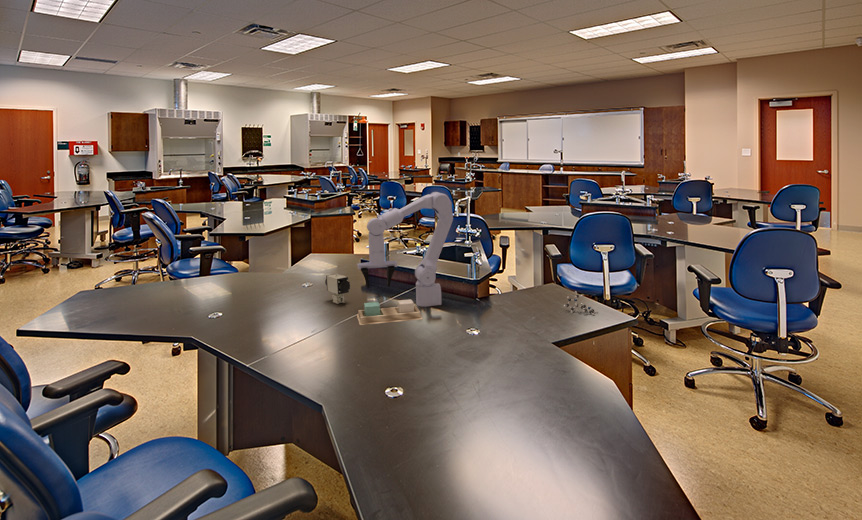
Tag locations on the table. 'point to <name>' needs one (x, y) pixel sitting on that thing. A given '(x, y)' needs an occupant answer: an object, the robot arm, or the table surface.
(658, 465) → the table surface
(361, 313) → the assembly board
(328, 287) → the pneumatic valve
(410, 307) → the cream block
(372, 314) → the teal block
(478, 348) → the table surface
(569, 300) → the molecule model
